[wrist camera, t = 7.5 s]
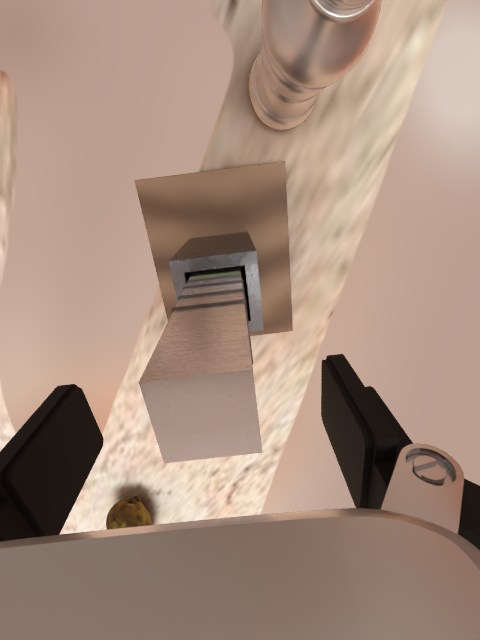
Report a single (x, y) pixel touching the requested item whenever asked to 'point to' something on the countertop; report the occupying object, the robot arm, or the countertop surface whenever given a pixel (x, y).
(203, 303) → the steel post
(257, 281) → the stand
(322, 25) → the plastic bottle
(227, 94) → the countertop surface
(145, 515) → the potato
